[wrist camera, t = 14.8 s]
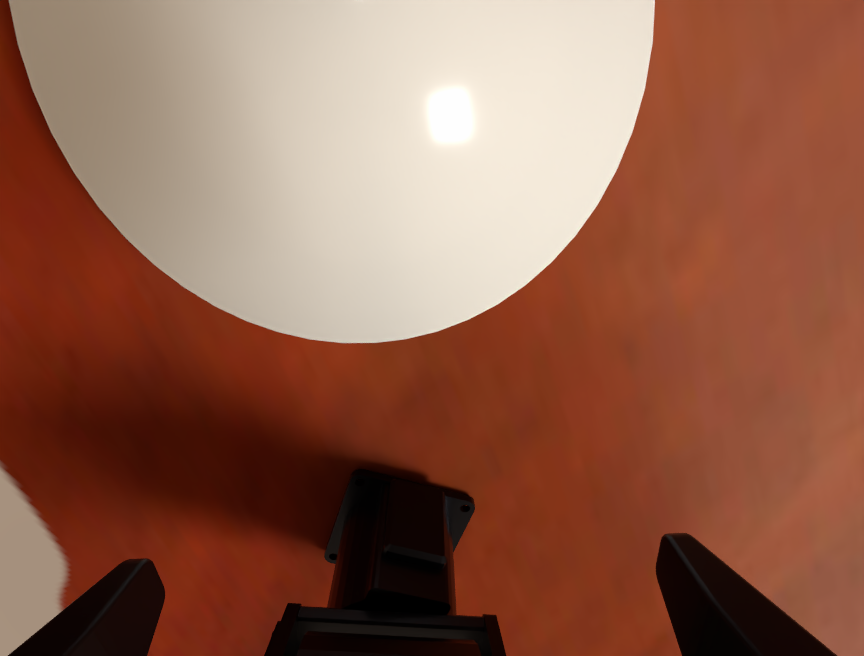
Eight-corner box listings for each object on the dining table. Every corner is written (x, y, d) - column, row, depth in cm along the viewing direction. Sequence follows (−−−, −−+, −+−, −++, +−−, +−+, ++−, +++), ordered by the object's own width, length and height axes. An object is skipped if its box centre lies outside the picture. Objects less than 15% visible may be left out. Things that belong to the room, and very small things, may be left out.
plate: (503, 382, 22) (507, 397, 21) (36, 247, 19) (13, 256, 18) (766, -180, 14) (794, -202, 13) (25, -557, 11) (-18, -626, 10)
